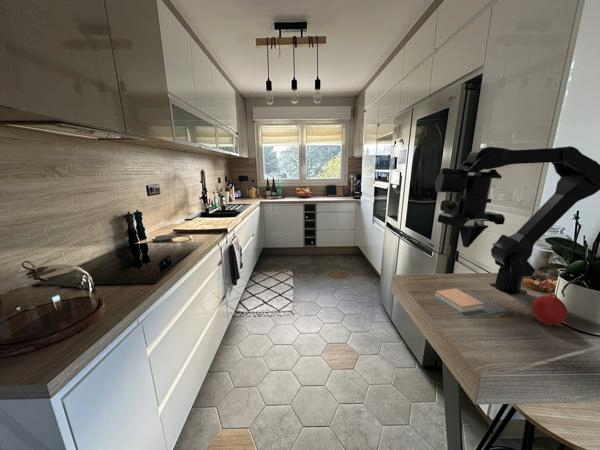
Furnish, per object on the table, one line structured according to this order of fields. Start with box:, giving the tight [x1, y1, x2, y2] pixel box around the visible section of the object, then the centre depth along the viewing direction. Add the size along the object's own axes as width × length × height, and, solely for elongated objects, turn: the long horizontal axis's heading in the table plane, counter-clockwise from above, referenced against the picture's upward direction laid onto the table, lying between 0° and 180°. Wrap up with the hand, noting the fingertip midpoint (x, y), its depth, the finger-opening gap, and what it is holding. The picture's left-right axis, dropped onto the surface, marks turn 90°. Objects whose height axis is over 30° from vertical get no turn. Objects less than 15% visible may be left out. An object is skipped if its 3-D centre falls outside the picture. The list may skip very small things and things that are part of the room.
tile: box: [434, 288, 484, 313], centre depth 65 cm, size 2×8×7 cm
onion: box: [531, 292, 568, 326], centre depth 57 cm, size 6×6×8 cm
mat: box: [431, 291, 509, 319], centre depth 65 cm, size 14×10×1 cm
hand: (465, 247), depth 74 cm, fingers closed
